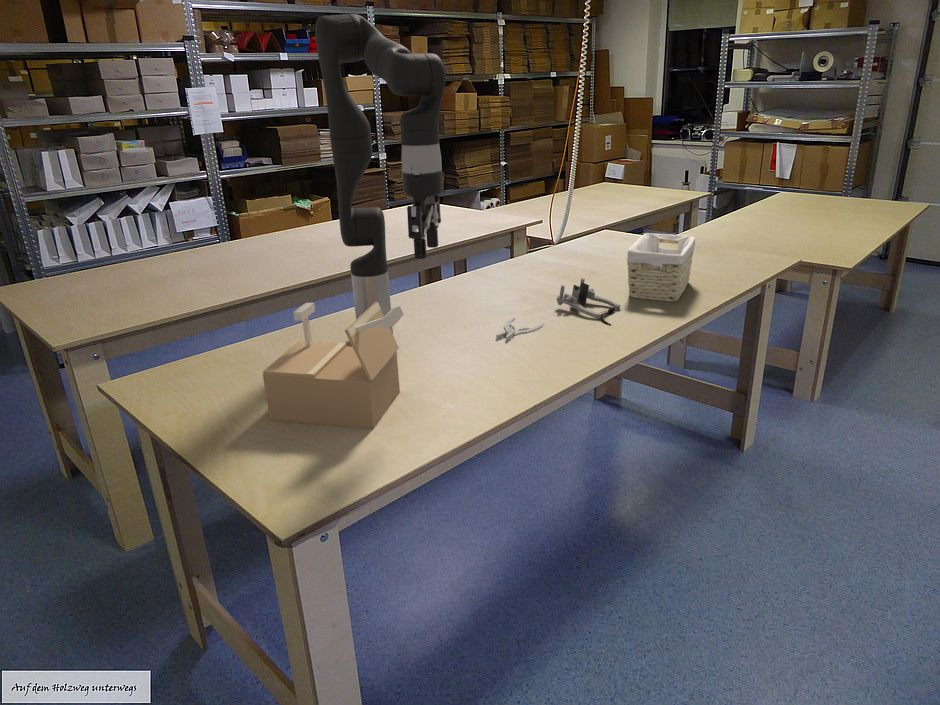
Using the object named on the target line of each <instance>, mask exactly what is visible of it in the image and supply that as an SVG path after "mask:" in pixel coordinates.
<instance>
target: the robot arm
mask: <svg viewBox="0 0 940 705" xmlns="http://www.w3.org/2000/svg"><path fill="white" fill-rule="evenodd" d="M314 27H315V28H314V36H315V38H314V39H315V45H316V51H317V56H318V63H319V67H320V72H321V77H322V83H323V87H324V94H325V101H326V108H327V109H326V110H327V116H328V117H327V118H328V130H329V138H330V147H331V152H332V159H333V164H334V166H333V167H334V172H335V178H336V179H335V180H336V188H337V203H338V220H339V228H340V229H339V231H340V236H341V239H342V242H343V244H344V245H345V246H346V247H350V248H352V247H365V246H367V247H369V246H372V249H371V250H370V251H368V252H367V253H366V254H364V255H361V256H358V257H357V258H354V259H353V260H352V261H351V263H350V266H349V267H350V274H351V275H350V276H351V285H352V294H353V295H352V296H353V302H354V303H353V304H354V311H355V320H356V319H358V318H359V317H360V316H361V315H362V314H363V313H364V312H365V311H366V310H367V309H368V308H370V307H371V306H372V305H373V304H374V303H375V302H378V304H379V306H380V308H381V311H382V313H383V315H384V316H385V315H386V314H387V313H388V312H389V311H390V310H391V309H392V305H391V304H392V302H391V293H390V292H391V291H390V281H389V280H390V279H389V272H388V271H389V270H388V259H387V250H386V248H387V246H386V243H387V242H386V220H385V215H384V212H383V210H382V209H381V208H380V207H376V206H372V207H371V206H370V207H357V208H356V207H352V202H353V198H354V195H355V192H356V190H357V187H358V185H359V182H360V181H361V179H362V177H363V175H364V173H365V172H366V170H367V168H368V167H369V164H370V162H371V159H372V157H373V141H372V130H371V124H370V122H369V120H368V118H367V116H366V115H365V113H364V112H363V111H362V109H361V108H360V106H359V105H358V104H357V102H356V101H355V100H354V99H353V97H352V96H351V94H350V93H349V91H348V89H347V87H346V85H345V82H344V79H343V76H342V73H341V66H340V64H347V63H356V62H360V61H362V60H364V63H365V65H366V66H367V69H368V70H370V72H371V73H372V74H373V75H375V76H377V77H378V78H379V79H381V80H384V82H385V83H386V85H387V86H388V88H389V91H391V93H392V94H394V95H397V96H399V97H416V96H417V97H419V96H420V99H419V100H420V101H419V103H418V104H417V106H416V107H415V108H413V109H409V110H406V111H404V112H402V113H401V115H400V118H399V121H400V123H399V124H400V126H399V127H400V140H401V154H400V155H401V158H400V161H401V175H402V186H403V194H404V195H405V196H407V197H411V198H412V199H413V201H412V205H408V206H407V208H406V210H407V213H406V214H407V228H408V230H407V231H408V235H407V236H408V239H412V240H413V248H414V253H413V254H414V258H415V259H420V260H423V259H426V258H427V247H428V248H431V249H432V248H434V249H436V248H438V246H439V235H438V234H439V232H438V231H439V230H438V229H439V227H440V224H441V222H442V218H441V204H440V203H441V201H440V195H442V193H443V191H444V186H443V168H442V166H443V165H442V153H441V148H440V134H439V132H440V130H439V117H440V112H441V106H442V101H443V96H444V91H445V88H446V87H445V86H446V80H447V79H446V78H447V75H446V72H447V71H446V68H445V65H444V62H443V60H442V59H441V58H440V57H439V55H437V54H435V53H432V52H431V53H430V52H429V53H428V52H424V53H423V52H422V53H412V52H411V50H409V49H408V48H407V47H405V46H404V45H402V44H400V43H398V42H395V41H394V40H391V39H389V38H387V37H386V36H384V35H383V34H382V33H381V32H380V31H379V30H378V29H377V28H376V27H375V26H374V25H373V24H372V23H370V21H369V20H367V19H366V18H364V16H362V15H359V14H356V13H345V14H332V15H322V16H319V17H318V18H317V19H316V21H315V26H314ZM389 328H390V330H391V332H392V335H393V336H394V326H392V327H389Z"/></svg>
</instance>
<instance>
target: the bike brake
mask: <svg viewBox="0 0 940 705" xmlns="http://www.w3.org/2000/svg"><path fill="white" fill-rule="evenodd" d="M565 287H566V285H564V284H561V285H560V292H559V295H557V297H556V301H557V302H556V303H557V304H558V306H562V304H565V305H568V306H569V307H571V308H572V309H575V310H577V311H578V312H580V313H582V314H584V315H586V316H589V317H592V318H594V319H596V320H601V321H602V322H603V323H604V324H605V325H607V326H612V323H609V322H608V321H606V320H605V319H604V317H607V316H608V315H610V314H612V313H614V311H620V309H621V306H622V305H621V304H619V303H617V302H614V301H613V300H610V299H608V298H605V297H602V296H599V295H596V292H595V290H594V288H590V285H589V284H587V283H585V278H583V277H582V278H580V284H579V286H578V285H576V284H573V287H572V292H571V294H569V293H567V292H566V293H565ZM587 299H588V300H591V301H593V302H599V303H602V304H605V305H608V306H610V308H608V309H606V310H603V311H601V312H598V313H597V312H594V311H592V310H590V309H587V308H586V307H585V306H587V304H586V303H587Z"/></svg>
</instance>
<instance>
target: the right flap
mask: <svg viewBox="0 0 940 705" xmlns="http://www.w3.org/2000/svg"><path fill="white" fill-rule="evenodd" d="M404 315H405V314H404V311H403V310H402V308H401V305H400V306H395V307H393V308H391V310H390V311H389V312H388V313H387V314H386V315H385V316H384V315H383V313H382V311H381V308H380V306H379V304H378V302H375V303H374V304H373V305H372V306H371V307H370V308H368V309H367V310H366V311H365V312H364V313H363V314H362V315H361V316H360V317H359V318H358V319H356V318H355V320H354V321H353V322H352V323H351V324H350V325H348V326H347V327H346V328H345V329H344V332H345V335H346V336H347V338H348V341H349V343H350V345H351V347H353V349H354V351H355V353H356V355H357V357H358V359H359V361H360V363H361V365H362V367H363V369H364V371H365V373H366V375H367V377H368V379H369V381H371V380H373V379H374V377H375V376H376V375H377V374H378V372H379V371H380V370H381V369H382V368H383V366H384V365H385V364H386V363H387V362H388V360H389V359H390V358H391V357H392V356H393V354H394V353H395V352H396V351H397V350H399V349H400V348H399V346H398V343H397V340H396V339H395V337H394V334H393V335H392V332H391V330H390V328H389V327H392V326H393V327H395V325H396V324H397V323H398V322H399V321H400V319H402V318H403V317H404ZM397 352H398V351H397Z"/></svg>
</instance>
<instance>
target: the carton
mask: <svg viewBox="0 0 940 705" xmlns="http://www.w3.org/2000/svg"><path fill="white" fill-rule="evenodd" d="M315 312H316V306H315V302H305V303H304V304H302V305H301V306H299V307H298V308H297V309H295V310H294V311H293V312H292V314H293V319H294V321H295V322H296V321H297V322H298V321H300V322H302V330H303V333H304V334H303V335H304V340H298V341H297V342H296V343H295V344H294V345H293V346H291V347H290V348H289V349H288V350H286V352H284V353H283V354H282V355H280V356H279V357H278V358H277V359H275V360H274V361H273V362H272V363H271V364H269V366H267V367H266V368H265V369H263V371H262V377H263V378H262V379H263V384H264V391H265V396H266V401H267V407H268V414H269V419H270V420H272V421H281V422H292V423H293V422H294V423H302V424H313V425H314V424H316V425H327V426H336V427H337V426H339V427H349V428H359V429H360V428H362V429H372V430H373V429H375V428H376V426H377V425H378V423H379V422H380V421H381V419H382V418H383V417H384V415H385V414H386V413H387V411H388V410H389V408H390V407H391V405H392V404H393V403H394V401H395V400H396V399H397V397H398V396H399V394H400V392H401V388H400V379H399V376H400V375H399V366H398V365H399V364H398V353H397V352H398V351H396V352H395V353H394V354H393V356H392V357H391V358H390V359H389V360H388V362H387V363H386V364H385V365H384V366H383V368H382V369H381V370H380V371H379V372H378V374H377V375H376V376H375V377H374V379H373V380H371V381H369V379H368V377H367V375H366V373H365V371H364V369H363V367H362V365H361V363H360V361H359V359H358V357H357V355H356V353H355V351H354V349H353V347H352V346H347V343H346V342H324V341H312V340H313V339H312V333H311V332H312V331H311V325H310V324H311V323H310V318H309V317H310V316H311V315H312V314H313V313H315Z"/></svg>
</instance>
